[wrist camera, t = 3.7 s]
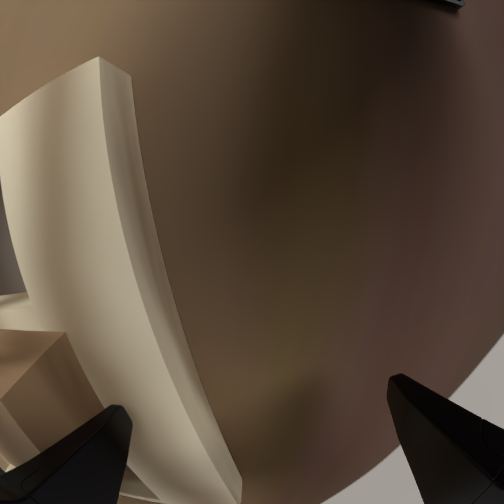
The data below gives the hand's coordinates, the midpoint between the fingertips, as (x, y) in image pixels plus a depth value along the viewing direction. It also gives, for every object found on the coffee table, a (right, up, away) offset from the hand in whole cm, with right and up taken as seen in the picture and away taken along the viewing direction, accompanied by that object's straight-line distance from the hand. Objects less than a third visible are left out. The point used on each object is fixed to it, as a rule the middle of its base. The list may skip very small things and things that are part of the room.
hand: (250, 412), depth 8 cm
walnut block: (-9, -1, +1) cm, 9 cm away
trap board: (-13, -1, +4) cm, 13 cm away
